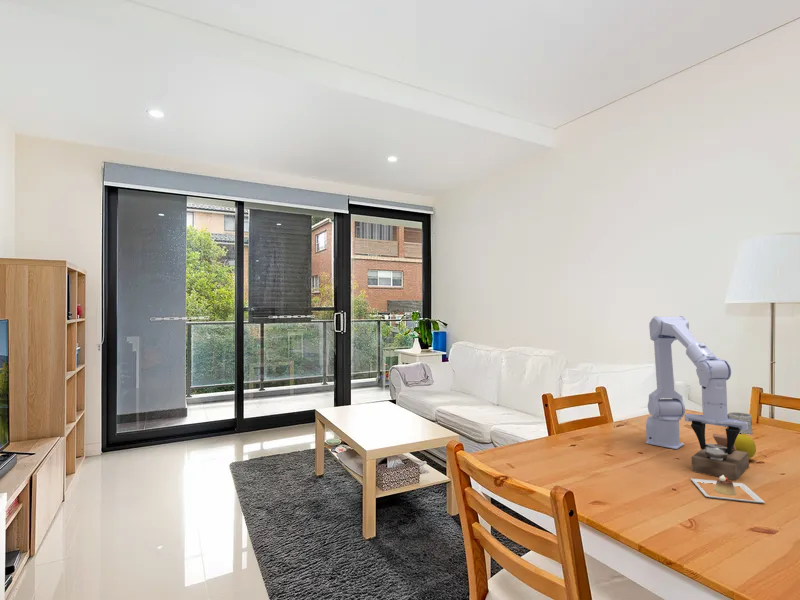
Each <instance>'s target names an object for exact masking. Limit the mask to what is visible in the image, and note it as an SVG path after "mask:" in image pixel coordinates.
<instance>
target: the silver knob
mask: <svg viewBox="0 0 800 600" xmlns="http://www.w3.org/2000/svg"><path fill="white" fill-rule="evenodd" d="M705 455H707V456H710V459H715V460H720V461H723V458H727V457H728V454H727V447H726V446H723V445H718V444H717V443H706V444H705Z"/></svg>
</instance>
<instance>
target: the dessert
mask: <svg viewBox="0 0 800 600" xmlns="http://www.w3.org/2000/svg"><path fill="white" fill-rule="evenodd" d="M690 480H691V481H692V482H693V484H695V486H696V487H697V488H698V489H699V491H700V492H701V493H702V494H703V495H704V496H705V497H707V498H709V499H719V500H728V501H739V502H747V503H754V504H755V503H756V504H764V503H766V501H764V500H763V499H762V498H761V497H760V496H759V495H758V494H757V493H755V492H754V490H752V489H751V488H749V487H748V486H747V485H746V484H745V483H744V482H743V483H742V482H733V480H730V479H728V478H727V477H725V476H724V475H722V476H720V477H718V478H717V480H712V479H701V478H690ZM697 482H701V484H707V483H713V484H712V485H714V490H713V491H714V492H716V493H717V494H718V493H719V494H720V495H721V494H722V495H725V496H737V491H736V489H735V487H737V486H740V487H739V488H741V489H742V490H743V491H744V492H745V493H746V494H747V495H748V496H749V497H751V498H752V499H753V500H750V499H744V498H734V497H733V498H732V497H724V496H714V495H709V494H708V493H707V492H706V491H705V490H704V488H703V487H702V486H701V485H700V483H697ZM703 482H704V483H703ZM700 486H701V487H702V488H701V487H700Z"/></svg>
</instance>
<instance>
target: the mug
mask: <svg viewBox="0 0 800 600" xmlns="http://www.w3.org/2000/svg"><path fill="white" fill-rule="evenodd" d="M727 416H728V419H733V420H738V421H743V422H748V430H747V431H746V430H742V429H741V431H740V432H739V433H741V434H750V435H752V434H753V419H752V417H753V415H752V414H749V413H745V412H735V411H734V412H732V411H731V412H729V413H727ZM741 434H740V435H741Z"/></svg>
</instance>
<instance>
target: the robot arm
mask: <svg viewBox="0 0 800 600" xmlns="http://www.w3.org/2000/svg"><path fill="white" fill-rule="evenodd" d="M648 327H649V328H648V329H649V336H650V337H649V338H650V340H651V341H652V342H653V349H654V364H655V365H654V366H655V377H656V378H655V379H656V389H655V390H653V391H652V392H651V393H649V394H648V402H647V410H648V413H649V414H650V416H648V417H647V418H646V421H645V422H646V423H645V429H646V430H645V435H646V441H645V444H648V445H653V446H657V447H661V448H662V447H663V448H668V449H673V450H678V449H680V448H681V447H683V446H684V445H685V443H684V442H680V440H681V439H680V421H681V420H682V418H683V417H684V422H688V423H689V422H691V424H690V426H691V429H692V430H693V432H694V434H695V436H696V437H697V440H698V443H699V447H700V450H701V449H705V444H707V443H706V425H712V426H718V427H725V428H726V427H727V428H726V429H725V433H726V434H725V436H727V454H730V455H731V454H732V451H733V446H734V443H735V440H736V438H737V436H738V435H740V434H739V432H740V431H741V429H742V430H746V431H747V430H748V422H743V421H738V420H733V419H728V416H727V414H728V394H727V390H728V389H727V381H728V380H729V379H730V378H731V376H732V368H731V366H730V364H729V362H728V360H726V359H721V358H719V357H717V356H716V355H715V354H714V353H713V351H711V349H710V348H709V347H708V346H707V345H706V344H705V343H703V342H698V340H697V339H696V338H695V336H694V335H693V333H692V332H691V331H690V324H689V321H688V319H687V318H686V317H685V316H682V315H679V316H653V317H652V318H651V319H650V321H649V326H648ZM676 340H677V341H678V342H679V343H681V345H683V346H684V347H685V349H686V350H685V355H686V356H687V357H688V359H690V360H689V361H691V362H692V363H693V364H694V366H695V371H696V375H697V377H698V383H699V386H701V399H702V401H701V402H702V403H701V404H702V414H695V413H686V406H685V404H684V401H683V395H682V394H680V393H679V392H678V391H676V390H675V381H674V368H673V367H674V366H673V354H672V353H673V352H672V344H673V343H674V342H675V341H676Z"/></svg>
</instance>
